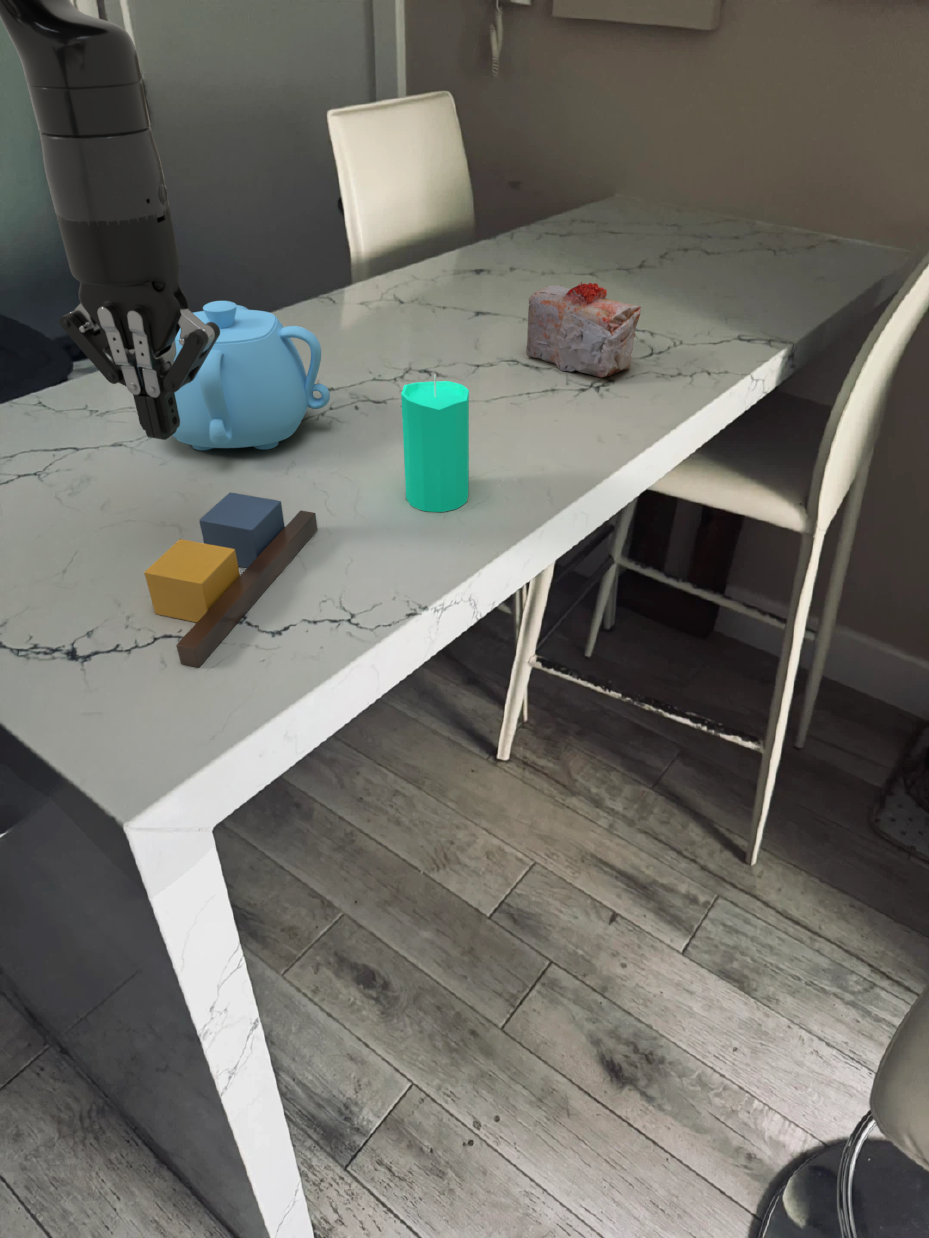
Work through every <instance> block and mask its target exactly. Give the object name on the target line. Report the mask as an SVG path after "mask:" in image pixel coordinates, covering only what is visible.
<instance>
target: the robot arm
mask: <svg viewBox="0 0 929 1238" xmlns="http://www.w3.org/2000/svg"><path fill="white" fill-rule="evenodd" d="M0 21H1V23H2V25H3V26H4V28H5V30H6V33H7V35H8V36H9V38H10V41H11V42H12V45H13V46H14V47H13V48H14V49H15V51H16V53H17V55H18V57H19V60H20V62H21V66H22V70H23V74H24V78H25V83H26V86H27V90H28V94H29V98H30V102H31V105H32V110H33V113H34V118H35V121H36V126H37V129H38V131H39V138H40V143H41V151H42V160H43V167H44V172H45V177H46V182H47V185H48V190H49V193H50V197H51V200H52V205H53V208H54V212H55V215H56V216H55V217H56V220H57V223H58V228H59V231H60V235H61V239H62V243H63V247H64V250H65V251H64V252H65V255H66V258H67V262H68V267H69V270H70V273H71V275H72V276H73V278H74V279H75V280H77V281H78V282H79V287H78V288H79V289H78V299H79V304H78V305H77V306H76V307H75V308H74V309H73V311H70V312H68V313H66V314H64V315H62V316H60V318H59V324H60V326H61V328H62V329H63V331H65V333H66V334H67V335H68V337H70V339H71V340H72V341H73V342H74V343H75V344H76V346H77V347H78V348H79V349H80V350H81V352H82V353H83V354H84V355H85V356H86V357H87V358H88V359H89V361H90V362H91V363H92V364H93V366H95V368H96V369H97V370H98V371H99V372H100V373H101V375H102V376H103V377H104V378H105V379H106V380H107V382H108V383H110V384H111V385H116V384H120V385H122V386H125V387H126V388H127V391H128V392H129V393H131V395H132V396H133V401H134V404H135V409H136V413H137V417H138V418H137V419H138V422H139V425H140V427H141V429H142V430H143V431H145V434H146V436H147V438H149V439H150V438H151V439H155V440H156V439H157V440H163V441H166V440H168V439H169V438H171V436H172V435H173V434H174V433H175V432H176V430H177V428H178V427H179V426H180V417H179V413H178V408H177V403H176V398H175V392H176V391H178V390H179V389H180V388H181V387H183V386H184V385H186V384H187V383H190V382H191V381H193V380H194V378H195V377H196V375H197V373H198V371H199V370H200V368H201V366H202V365H203V363H204V361H205V359H206V358H207V356H208V354H209V353H210V351H211V349H212V347H213V346H214V344H215V342H216V340H217V339H218V337H219V335H220V329H219V327H218V325H217V324H215V323H214V322H208V323H207V324H205V323H203V322H202V321H201V320H200V319H199V318H198V317H197V316H195V315H194V314H193V313H194V312H192V310H190V302H189V299H188V296H187V295H186V294H185V292H184V290H183V288H182V286H181V284H180V279H179V277H180V275H179V274H180V266H181V261H180V256H179V249H178V246H177V245H178V244H177V239H176V233H175V230H174V224H173V218H172V212H171V207H170V203H169V197H168V191H167V185H166V181H165V180H166V179H165V174H164V169H163V165H162V161H161V156H160V154H159V151H158V149H157V144H156V141H155V138H154V136H153V130H152V127H151V120H150V114H149V109H148V105H147V98H146V94H145V88H144V83H143V77H142V71H141V67H140V63H139V56H138V52H137V50H136V46H135V43H134V41H133V39H132V37H131V35H130V34H129V33H128V32H127V31H126V30H125V28H123V27H122V26H120V25H118V24H116V23H114V22H111V21H109V20H105V19H102V18H98V17H95V16H91V15H89V14H86V13H84V12H82V11H80V10H79V9H77V8H76V7H75V6H74V4H73V3H72V1H71V0H0ZM180 328H181V333H180V339H179V343H180V344H181V345H183V346H182V348H181V350H180V352H179V354H178V356H177V357H176V344H175V338H176V336H177V334H178V332H179V330H180ZM108 356H109V357H110V358H109V357H108ZM175 357H176V359H175ZM174 359H175V361H174ZM113 362H114V363H113ZM172 437H173V436H172Z"/></svg>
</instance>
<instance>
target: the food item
mask: <svg viewBox="0 0 929 1238" xmlns="http://www.w3.org/2000/svg"><path fill="white" fill-rule="evenodd" d="M607 292H608V291H607V289H605V288H604V287H603V286H602V287H600V286H599V284H598V283H596V282H594V283H592V282H588V283H583V281H581V282H580V283H579V284H578V285H576V286H574V287H572V288H568V287H565V286H562V285H547V286H545V287H543V288H540V289H538V290H537V291H535V292H533V293H532V294H531V295H530V296H529V297H528V309H527V310H528V311H527V330H526V333H527V335H526V350H525V353H526V357H529V358H533V359H539V360H541V361H545V362H548V363H551V364H554V365H556V366H557V368H558V369H559V370H560V371H561V372H571V373H572V372H575V371H577V372H579V373H583V374H587V375H589V376H590V375H591V376H593V377H597V378H601V379H602V378H606V377H610V376H613V375H616V374H618V373H620V372H623V371H625V370H628V369H630V368H631V362H632V354H633V349H634V342H635V338H636V329H637V325H638V323H639V320H640V316H641V309H642V306H641V305H635V304H630V303H626V302H622V301H618V300H614V299H610V298H606V297H607V296H608V294H607Z"/></svg>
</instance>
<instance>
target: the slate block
mask: <svg viewBox="0 0 929 1238" xmlns="http://www.w3.org/2000/svg"><path fill="white" fill-rule="evenodd" d="M198 522H199V528H200V531H201V537H202V540H203V543H204V544H210V545H215V546H221V547H226V548H232V549H235V552H236V557H237V562H238V567H239V568H241V567H242V568H245V569H247V568H248V567H249V566H250V565H251V563H252V562H253V561H254V560H255V559H256V558H257V557H258V556H259V555H260V554H261V553H262V552H263V550H264V549H265V548H266V547H267V546H268V545H269V544H270V543H271V542H272V541H273V540H274V539H275V537H276V536H277V535H278V534H279V533H280V532H281V531H282V530H283V529H284V528H285V527H286V525H285V519H284V511H283V505H282V501H281V500H278V499H271V498H265V497H260V496H254V495H248V494H243V493H237V492H232V491H231V492H228V493H227V494H226V495H225V496H224V497H223V498H222V499H220V501H218V502H217V503H216V504H215V505H214V506H213V507H211V508H210V509H209V511H207V512H206V513H205V514H204V515H203V516H202V517H201V518H199V520H198Z"/></svg>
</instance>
